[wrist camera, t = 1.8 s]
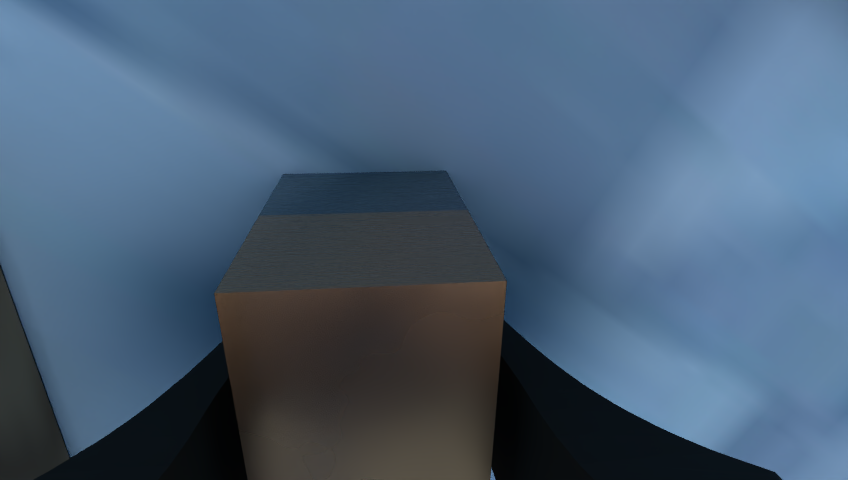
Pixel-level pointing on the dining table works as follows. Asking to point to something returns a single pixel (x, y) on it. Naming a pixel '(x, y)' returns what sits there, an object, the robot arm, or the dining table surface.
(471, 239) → the brown rectangular block
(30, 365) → the walnut stand
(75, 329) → the dining table surface
